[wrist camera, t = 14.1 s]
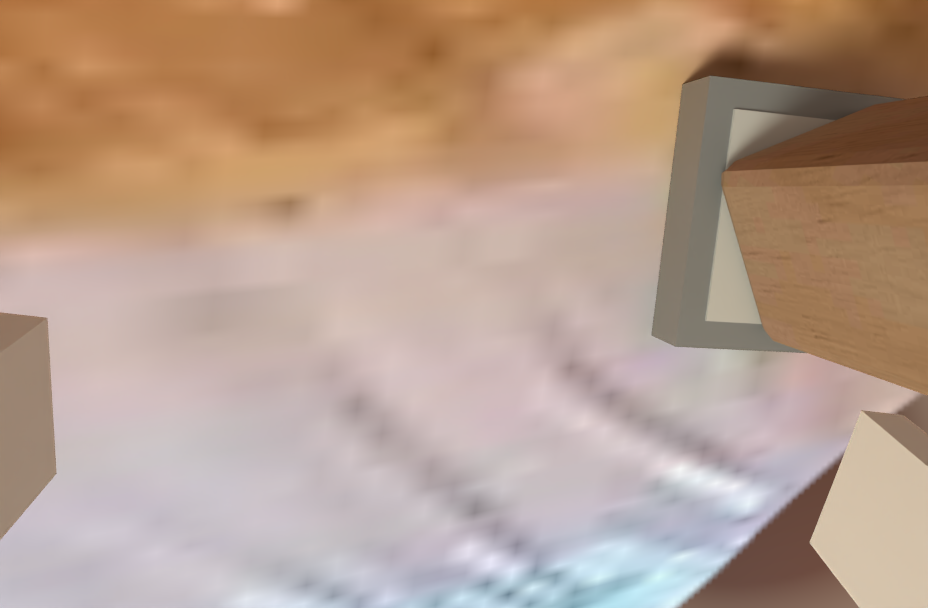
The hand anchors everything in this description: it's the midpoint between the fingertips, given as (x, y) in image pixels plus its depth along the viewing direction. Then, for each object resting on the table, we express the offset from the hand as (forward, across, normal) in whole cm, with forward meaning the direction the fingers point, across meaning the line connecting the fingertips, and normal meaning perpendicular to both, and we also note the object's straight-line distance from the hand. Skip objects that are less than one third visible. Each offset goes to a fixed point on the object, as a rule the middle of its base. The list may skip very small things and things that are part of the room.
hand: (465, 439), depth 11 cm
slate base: (+29, +20, -1) cm, 35 cm away
